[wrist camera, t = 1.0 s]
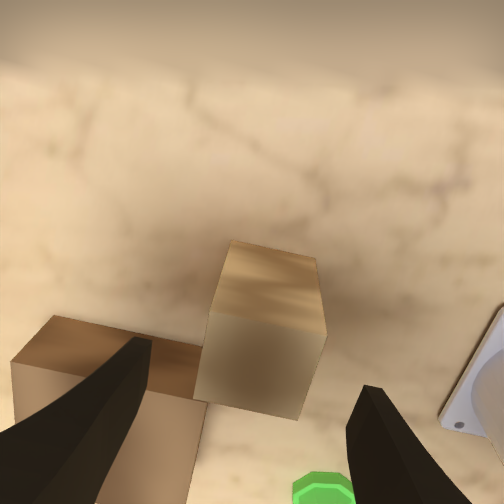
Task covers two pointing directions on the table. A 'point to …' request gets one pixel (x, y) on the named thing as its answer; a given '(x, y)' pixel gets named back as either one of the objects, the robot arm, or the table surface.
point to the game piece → (323, 489)
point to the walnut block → (149, 414)
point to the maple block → (262, 332)
